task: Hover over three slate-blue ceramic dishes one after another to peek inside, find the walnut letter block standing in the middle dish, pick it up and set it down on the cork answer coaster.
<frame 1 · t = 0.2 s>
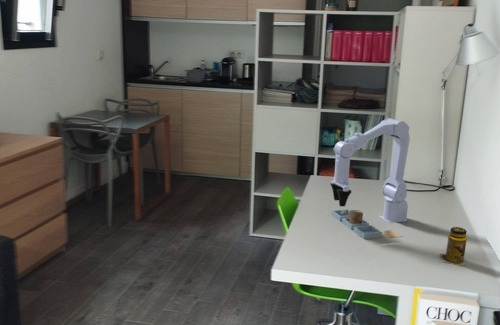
hand: (339, 203, 211), 10 cm above the table, fingers open, 7 cm apart
answer coaster: (389, 235, 205), on the table
grey ball: (343, 217, 222), resting on dish a
dish b: (355, 226, 213), on the table
dish a: (343, 218, 223), on the table
dish c: (367, 235, 204), on the table
condiment: (451, 260, 184), on the table
letter block: (355, 225, 213), resting on dish b
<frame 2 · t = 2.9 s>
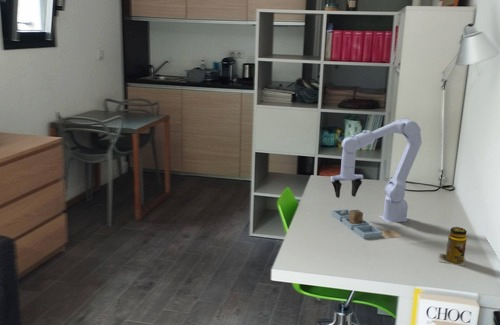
hand: (345, 196, 220), 10 cm above the table, fingers open, 7 cm apart
nothing on the table moved.
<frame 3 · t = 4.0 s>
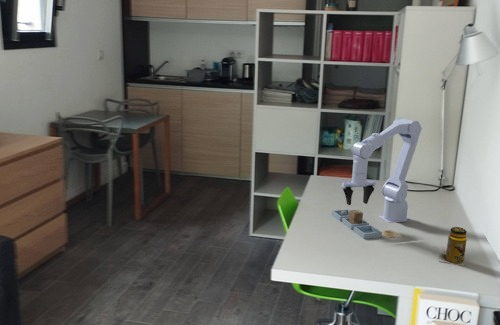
hand: (356, 203, 211), 10 cm above the table, fingers open, 7 cm apart
nothing on the table moved.
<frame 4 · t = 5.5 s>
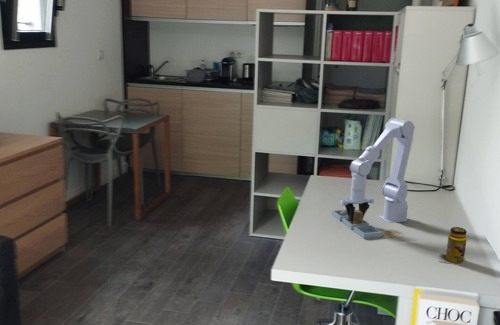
hand: (355, 220, 213), 3 cm above the table, fingers closed on letter block, 4 cm apart
letter block: (355, 225, 213), resting on dish b, touching gripper
everything else where it was.
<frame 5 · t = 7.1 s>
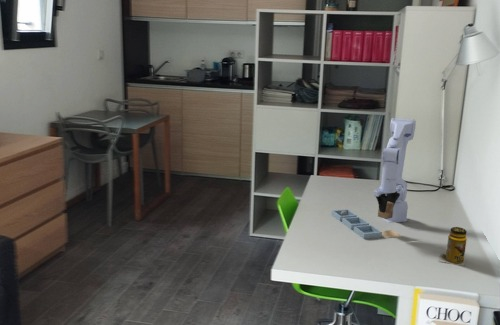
hand: (386, 210, 204), 10 cm above the table, fingers closed on letter block, 4 cm apart
letter block: (385, 216, 205), point 7 cm above the table, touching gripper
everything else where it was.
when the fingers open (4 cm above the table, at t = 8.9 s): letter block stays where it is, resting on answer coaster.
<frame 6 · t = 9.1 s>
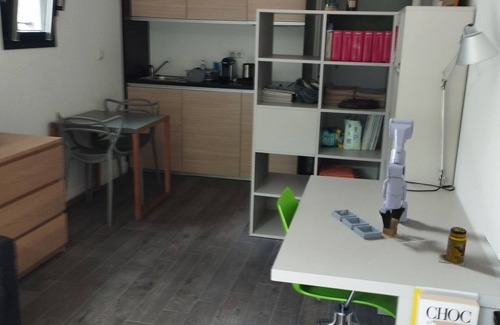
hand: (390, 226, 204), 4 cm above the table, fingers open, 6 cm apart
letter block: (389, 233, 205), point 1 cm above the table, touching answer coaster
everything else where it was.
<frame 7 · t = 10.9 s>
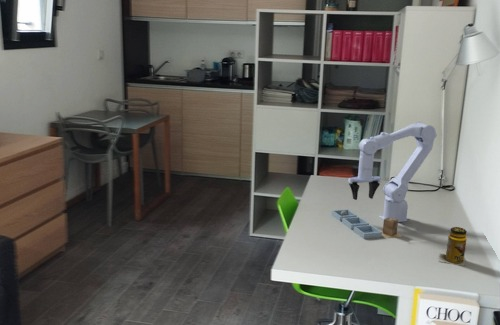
hand: (362, 198, 218), 10 cm above the table, fingers open, 7 cm apart
nothing on the table moved.
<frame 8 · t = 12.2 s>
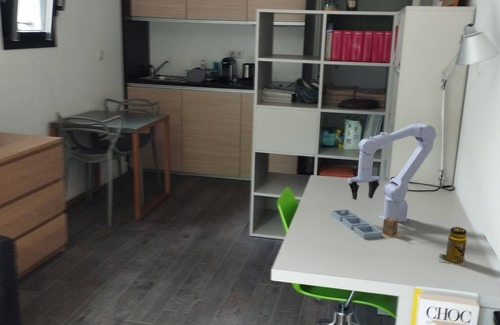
hand: (362, 198, 218), 10 cm above the table, fingers open, 7 cm apart
nothing on the table moved.
at the end: letter block 0.2 cm off-centre on the answer coaster, point 0.6 cm above the answer coaster's base; letter block tilted 0°; the gripper is holding nothing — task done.
